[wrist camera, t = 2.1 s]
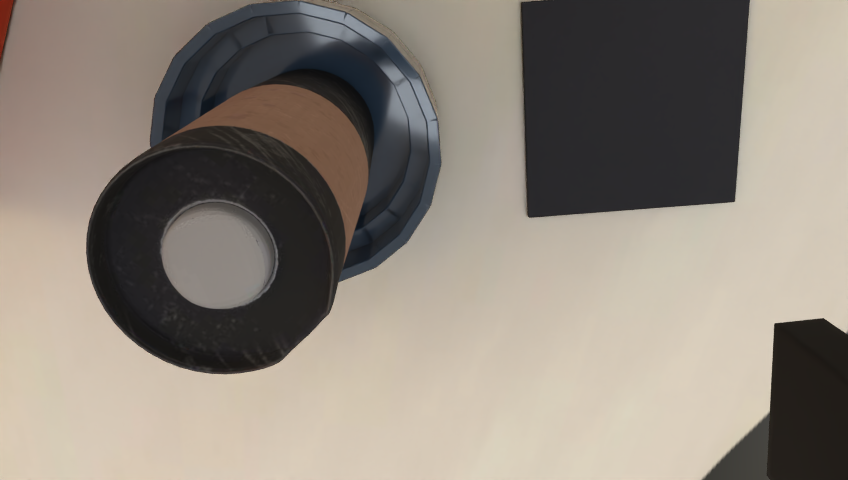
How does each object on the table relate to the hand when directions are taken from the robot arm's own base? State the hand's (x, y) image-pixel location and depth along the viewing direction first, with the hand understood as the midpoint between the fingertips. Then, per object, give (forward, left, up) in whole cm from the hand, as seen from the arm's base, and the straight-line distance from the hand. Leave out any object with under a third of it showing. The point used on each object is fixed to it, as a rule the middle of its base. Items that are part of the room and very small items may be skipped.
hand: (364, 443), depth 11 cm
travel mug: (+1, -5, -30) cm, 31 cm away
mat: (+1, +13, -30) cm, 33 cm away
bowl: (+1, -5, -30) cm, 31 cm away
